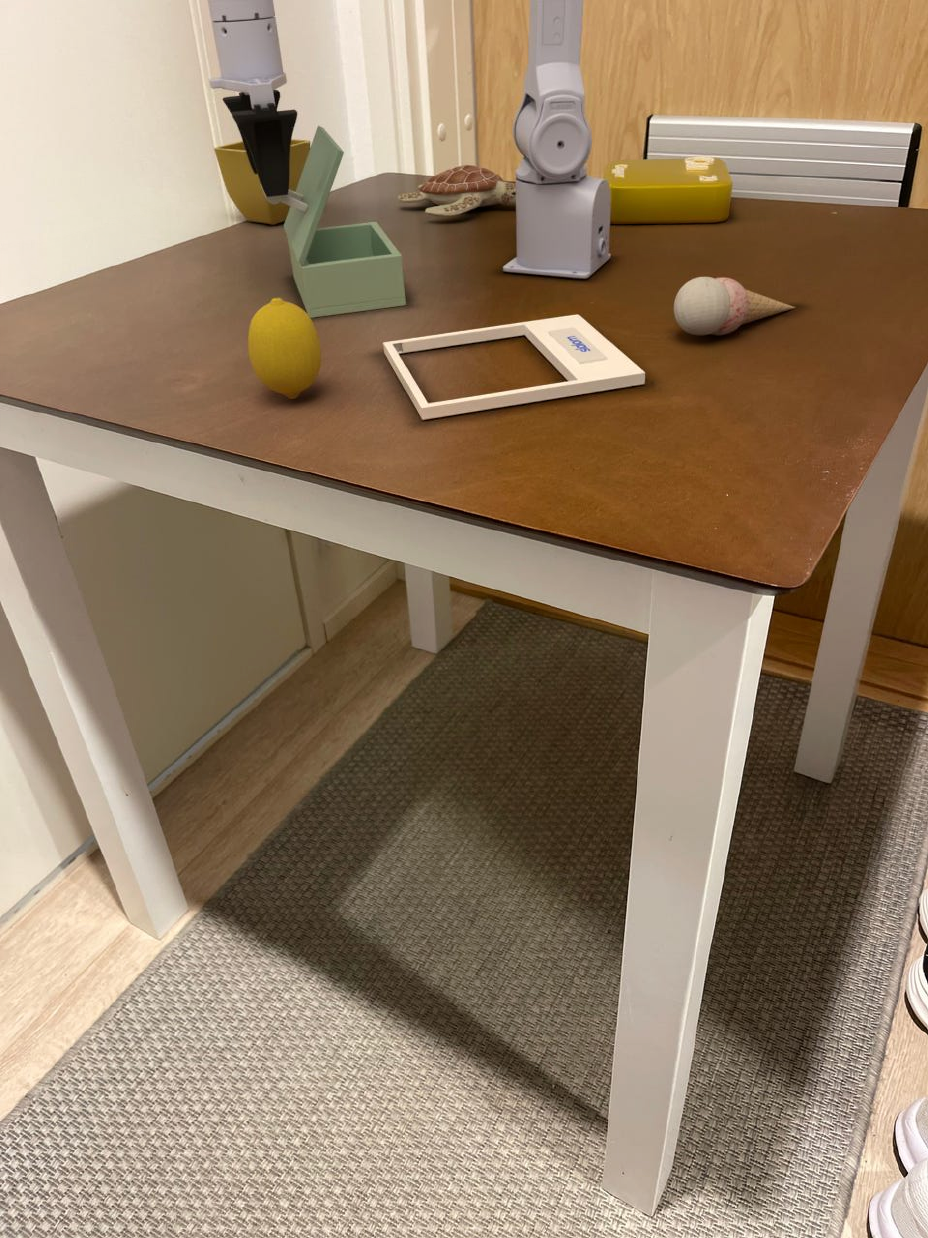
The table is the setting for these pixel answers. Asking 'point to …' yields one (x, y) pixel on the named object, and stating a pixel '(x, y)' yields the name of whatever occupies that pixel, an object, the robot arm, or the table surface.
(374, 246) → the cool box
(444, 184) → the decorative turtle
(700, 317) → the ice cream cone
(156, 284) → the table surface
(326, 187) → the cool box lid
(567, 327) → the photo frame
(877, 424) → the table surface
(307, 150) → the flower pot
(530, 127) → the robot arm
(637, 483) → the table surface
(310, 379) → the lemon
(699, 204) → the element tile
